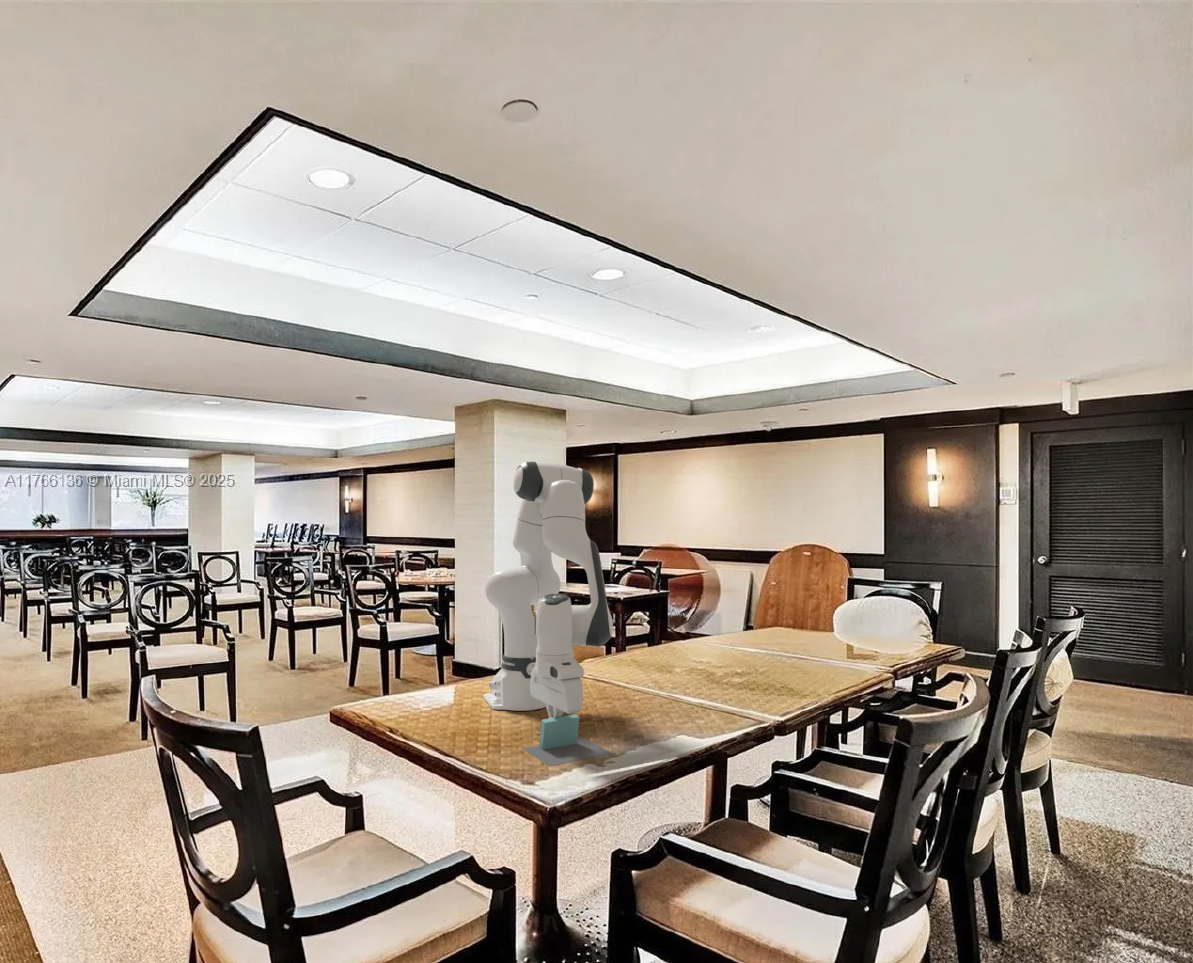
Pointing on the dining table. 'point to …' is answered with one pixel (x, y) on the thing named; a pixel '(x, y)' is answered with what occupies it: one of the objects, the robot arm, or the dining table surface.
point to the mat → (568, 752)
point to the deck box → (559, 731)
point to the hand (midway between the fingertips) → (555, 724)
